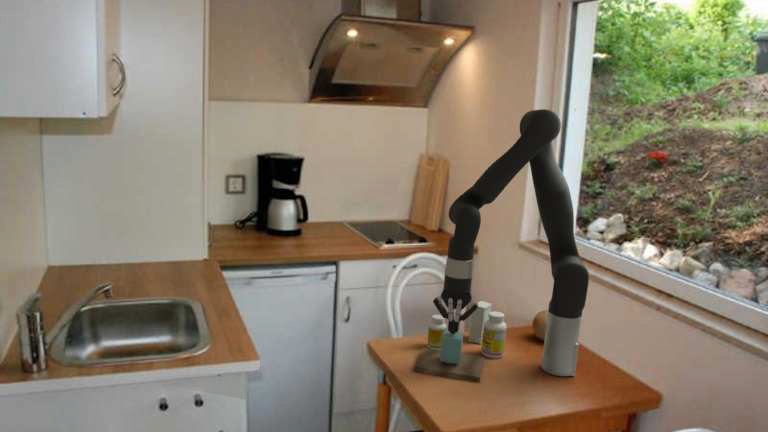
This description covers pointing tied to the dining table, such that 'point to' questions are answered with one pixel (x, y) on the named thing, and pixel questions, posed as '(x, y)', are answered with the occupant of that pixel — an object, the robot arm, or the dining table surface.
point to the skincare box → (479, 321)
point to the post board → (449, 366)
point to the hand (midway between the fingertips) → (452, 332)
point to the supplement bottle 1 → (436, 332)
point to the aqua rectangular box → (451, 347)
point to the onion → (540, 324)
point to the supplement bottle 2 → (494, 335)
